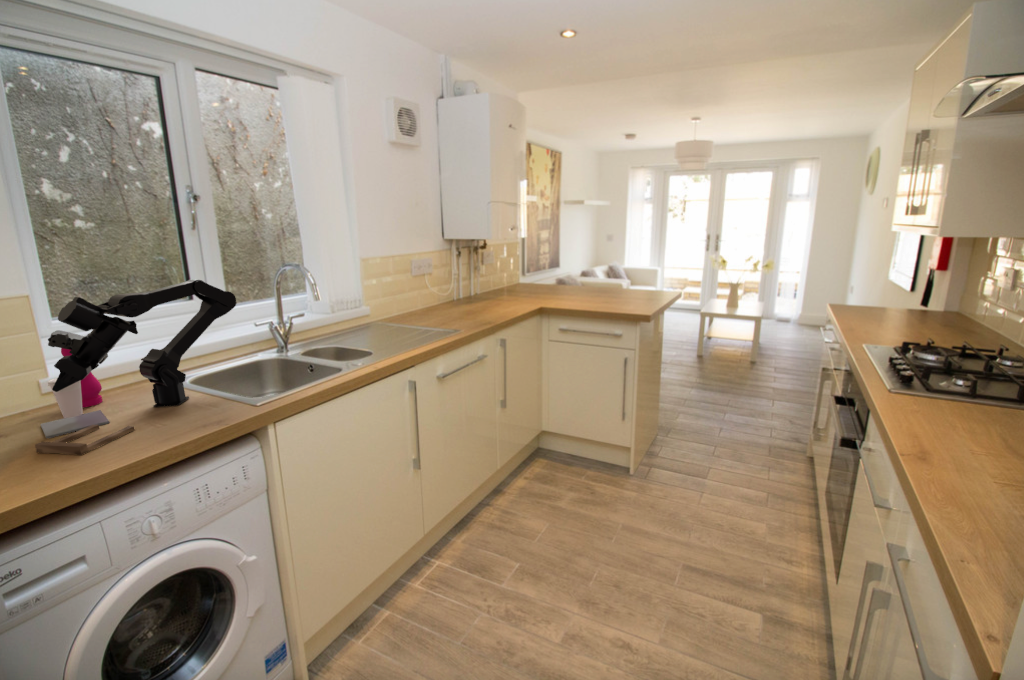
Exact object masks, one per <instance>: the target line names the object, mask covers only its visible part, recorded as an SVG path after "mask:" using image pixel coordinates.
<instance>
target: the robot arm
mask: <svg viewBox="0 0 1024 680" xmlns="http://www.w3.org/2000/svg"><path fill="white" fill-rule="evenodd" d="M190 296H195V297H196V298H198V299H199V300H200V301H201V302H200V307H199V310H198V312H197V313H196V314H195V315H194V316H193V317H192V318H191V319H190V320H189V321H188V322H187V323H186V324H185V326H183V327H182V329H180V331H179V332H178V333H176V335H175V336H174V337H173V338H172V339H171V340H170V341H169V342H168V343H167V345H166V346H164V347H163V348H161V349H157V348H151V349H150V350H149V351H148V353H147V355H145V356H144V357H142V358H140V361H141V362H140V364H139V366H138V368H139V373H140V375H141V376H142V377H143V378H146V379H147V380H148V381H149V383H153V384H152V389H151V391H152V396H153V401H154V403H155V404H153V405H152V406H153V408H160V407H161V408H164V407H165V408H166V407H178V406H180V405H181V404H183V403H184V402H186V401H187V400H188V399H190V396H189V395H188V396H186V391H185V386H184V382H186V376H187V374H186V373H185V372H182V371H180V370H178V369H179V368H180V365H181V364H180V363H181V359H182V357H183V355H184V354H185V353H186V352H187V351H188V350H189V349H190V348H191V347H192V346H193V344H195V342H197V340H198V339H199V338H200V337H201V336H202V334H203V333H204V332H205V331H206V330H208V328H209V327H210V326H211V325H212V323H214V322H215V320H217V319H219V318H221V317H223V316H225V315H227V314H228V313H229V312H231V311H232V310H233V309H234V308H236V306H237V297H236V296H235V294H234V293H233V292H231V291H228V290H222V289H220V288H218V287H217V286H216V287H215V286H213V285H210V284H209V283H207V282H205V281H204V280H201V279H191V278H190V279H188V280H186V281H184V282H179V283H174V284H172V285H168V286H167V285H166V286H164V287H159V288H156V289H153V290H148V291H142V292H128V293H118V294H113V295H112V296H110V297H109V299H108V301H106V302H104V303H100V304H98V305H96V304H94V303H91V302H89V301H87V300H86V299H84V298H82V297H80V296H74V297H73V299H72V300H71V301H69V302H68V303H67V304H66V305H64V307H62V308H61V309H60V311H59V313H58V315H57V321H58V322H61V323H63V324H65V325H67V326H68V325H69V326H71V327H73V328H76V329H78V330H81V331H82V332H88V331H91V332H89V333H87V334H86V335H84V336H83V335H80V334H77V333H72V332H69V331H65V330H55V331H53V332H51V334H50V337H49V338H47V341H48V343H47V346H49V347H51V348H60V349H61V348H63V349H68V350H71V351H70V352H69V353H71V354H72V355H71V356H62V357H61V358H60V359H58V360H57V362H56V363H54V364H53V367H54V368H55V369H57V370H58V371H59V375H58V377H57V380H56V382H55V384H54V386H53V388H52V389H51V391H52V390H53V391H55V392H58V391H60V390H62V389H64V388H66V387H68V386H70V385H72V384H74V383H76V382H78V381H80V380H83V379H84V378H85V377H86V376H87V375H88V374H89V373H90V372H91V373H92V371H94V370H95V369H97V368H98V367H99V366H100V365H102V364H103V363H104V362H105V361H106V359H108V357H109V355H108V353H109V352H110V351H112V350H113V348H114V347H115V346H116V344H117V343H118V342H119V341H120V340H121V339H122V338H123V337H124V336H125V335H126V333H127V332H129V333H133V334H135V335H138V334H139V332H138V328H137V323H136V322H135V320H125V319H123V318H121V317H125V318H137V317H139V316H141V315H143V314H145V313H147V312H149V311H150V310H152V309H153V308H154V307H157V306H159V305H163V304H166V303H170V302H173V301H177V300H181V299H185V298H188V297H190ZM108 315H109V316H108ZM110 315H112V316H113V317H112V316H110Z"/></svg>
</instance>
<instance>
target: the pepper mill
mask: <svg viewBox="0 0 1024 680" xmlns="http://www.w3.org/2000/svg"><path fill="white" fill-rule="evenodd" d="M70 351H71V350H68V349H63V348H60V353H61V355H62V357H64V356H71V355H72V354H71V353H69V352H70ZM102 388H103V387H102V384H101V382H100V381H99V380H98V379H97V377H95V376H94V374H93V373H92V371H91V372H90V373H89V374H88V375H87V376H86V377H85V378H84V379H83V380H81V394H82V408H89V407H94V406H97V405H100V404H101V403H103V398H102V397H103V396H102V395H101V394H100V392H102Z"/></svg>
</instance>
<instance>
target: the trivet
mask: <svg viewBox="0 0 1024 680" xmlns="http://www.w3.org/2000/svg"><path fill="white" fill-rule="evenodd" d="M107 424H110V419H108V418H107V415H105V414H104V413H103V411H102V410H101V409H98V410H95V411H90V412H85V413H83V414H82V415H79V416H75V417H70V418H64V417H63V418H59V419H55V420H51V421H47V422H42V423H40V427H41V429H42V431H43V434H44V437H45V438H46V440H48V439H52V438H56V437H59V435H60V436H63V434H64V435H68V434H72V433H74V432H75V431H76V432H77V431H79V430H82V429H84V428H86V427H89V426H91V425H99V427H101V426H105V425H107ZM71 432H72V433H71ZM67 433H68V434H67ZM55 436H56V437H55ZM47 438H48V439H47Z"/></svg>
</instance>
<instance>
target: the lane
mask: <svg viewBox="0 0 1024 680" xmlns="http://www.w3.org/2000/svg"><path fill="white" fill-rule="evenodd" d="M99 429H100V426H99V425H91V426H89V427H86V428H84V429H82V430H79V431H76V432H72V433H69V434H66V436H65V435H64V436H63V437H60V438H58V439H56V440H53V441H41V442H38V443H35V444H34V448H35V451H36V453H37V452H39V453H38V454H49V453H63V454H62V455H69V454H77V455H76V456H83V455H84V453H85V454H87V453H89V452H91V451H94V450H95V448H96V449H98V448H100V447H101V445H102V446H104V445H106V444H108V443H110V442H112V440H113V441H115V440H117V439H118V437H119V438H121V437H123V436H125V435H127V434H129V432H130V433H132V432H134V431H135V427H134V425H133V426H132V425H128V426H125V427H123V428H121V429H119V430H116V431H114V432H112V433H110V434H108V435H105V436H103V437H100V438H99V439H97V440H95V441H92V442H90V443H88V444H87V443H83V442H82V443H81V442H72V441H74V440H76V438H77V439H79V438H81V437H83V436H86V435H88V434H90V432H91V433H93V432H95V431H98V430H99ZM133 430H134V431H133ZM92 431H93V432H92ZM131 431H132V432H131ZM120 436H121V437H120ZM116 438H117V439H116ZM73 439H74V440H73ZM114 439H115V440H114ZM71 440H72V441H71ZM69 441H70V442H69ZM66 442H68V443H66ZM103 444H104V445H103ZM99 446H100V447H99ZM97 447H98V448H97ZM93 449H94V450H93ZM90 450H91V451H90ZM88 451H89V452H88ZM86 452H87V453H86ZM82 454H83V455H82Z"/></svg>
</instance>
